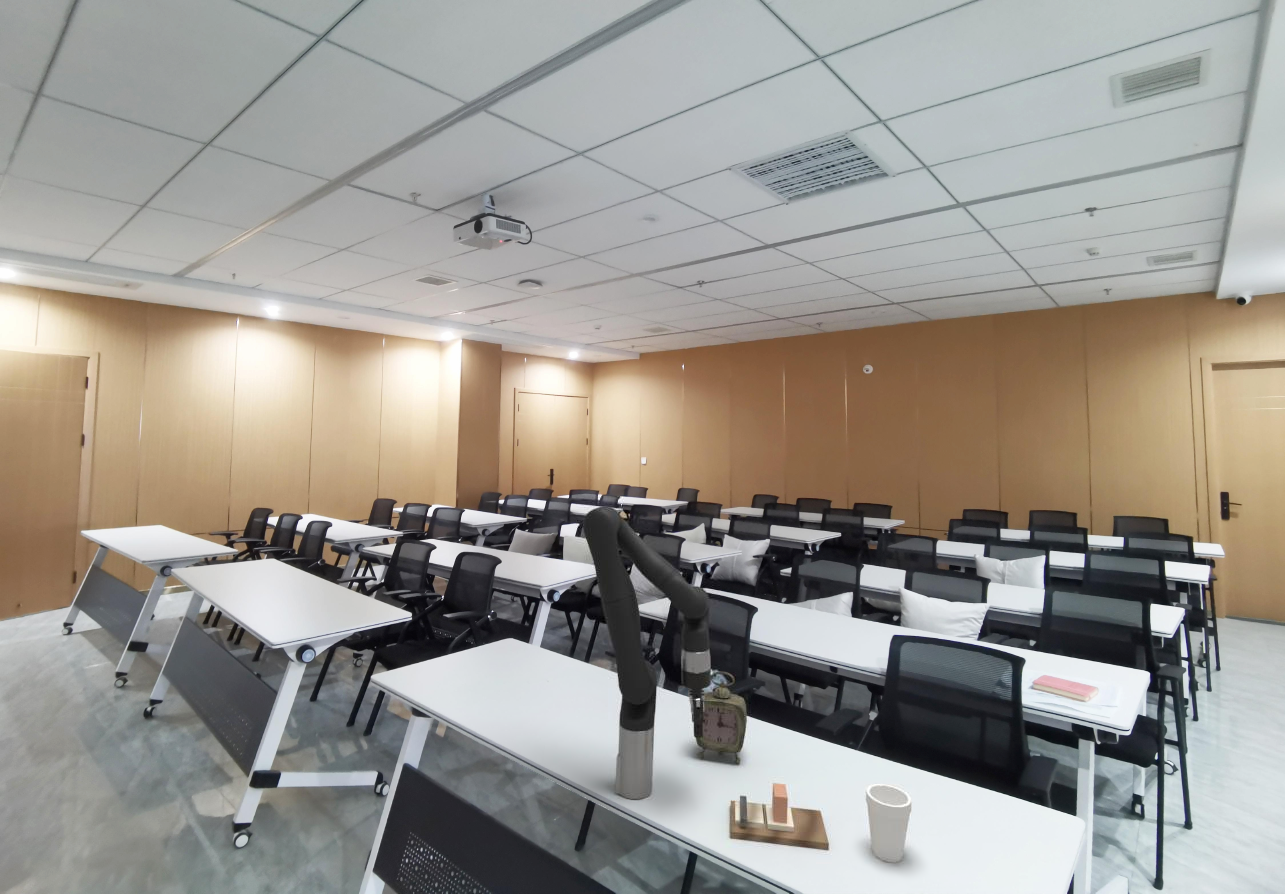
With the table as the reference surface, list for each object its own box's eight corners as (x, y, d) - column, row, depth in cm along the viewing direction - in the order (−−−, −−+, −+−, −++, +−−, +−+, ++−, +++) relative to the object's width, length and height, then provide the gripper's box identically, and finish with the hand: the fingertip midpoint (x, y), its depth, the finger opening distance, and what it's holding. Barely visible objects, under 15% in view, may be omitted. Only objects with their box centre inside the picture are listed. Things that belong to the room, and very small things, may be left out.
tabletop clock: (693, 759, 177) (696, 673, 177) (698, 745, 186) (700, 663, 186) (743, 767, 174) (746, 679, 174) (746, 752, 182) (748, 669, 183)
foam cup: (898, 840, 142) (899, 784, 143) (917, 866, 133) (919, 807, 133) (858, 839, 142) (859, 783, 142) (874, 866, 133) (876, 806, 133)
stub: (767, 828, 142) (768, 797, 142) (765, 809, 150) (766, 780, 150) (793, 831, 142) (794, 800, 142) (790, 812, 149) (791, 782, 150)
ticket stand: (730, 837, 141) (731, 821, 141) (730, 806, 154) (731, 791, 154) (828, 849, 138) (829, 832, 138) (820, 816, 151) (820, 801, 151)
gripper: (680, 657, 165) (681, 717, 164) (682, 676, 150) (683, 742, 150) (708, 656, 164) (709, 717, 164) (712, 675, 150) (714, 742, 150)
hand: (697, 729), depth 157 cm, fingers open, 8 cm apart
